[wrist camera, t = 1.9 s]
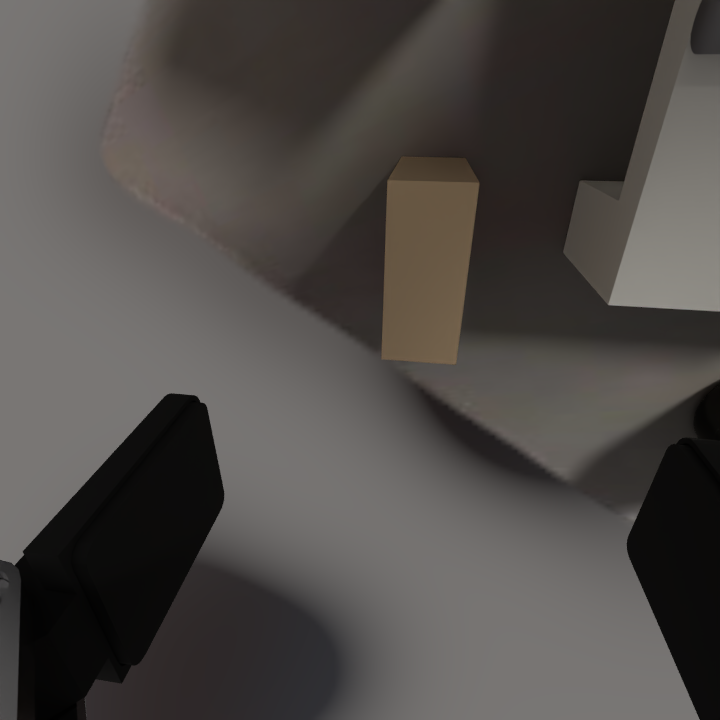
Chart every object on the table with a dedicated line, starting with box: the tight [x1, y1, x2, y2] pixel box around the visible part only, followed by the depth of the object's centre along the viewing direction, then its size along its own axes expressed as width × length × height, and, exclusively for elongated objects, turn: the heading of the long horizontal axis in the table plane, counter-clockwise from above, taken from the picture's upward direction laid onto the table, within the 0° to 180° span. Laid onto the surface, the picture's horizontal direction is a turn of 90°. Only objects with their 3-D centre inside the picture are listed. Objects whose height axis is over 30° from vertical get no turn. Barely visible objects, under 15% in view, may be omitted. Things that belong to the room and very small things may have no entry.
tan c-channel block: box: [381, 156, 480, 365], centre depth 23 cm, size 8×4×9 cm, turn 0°
